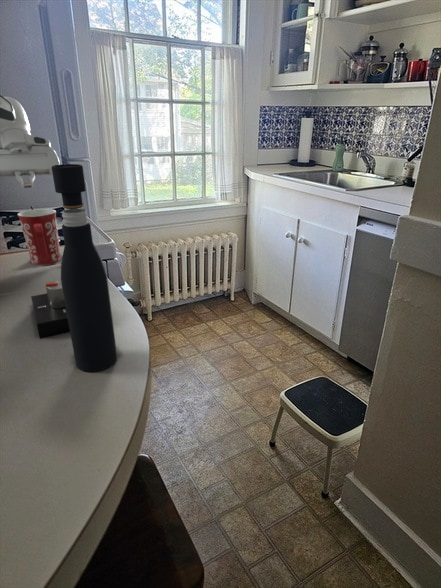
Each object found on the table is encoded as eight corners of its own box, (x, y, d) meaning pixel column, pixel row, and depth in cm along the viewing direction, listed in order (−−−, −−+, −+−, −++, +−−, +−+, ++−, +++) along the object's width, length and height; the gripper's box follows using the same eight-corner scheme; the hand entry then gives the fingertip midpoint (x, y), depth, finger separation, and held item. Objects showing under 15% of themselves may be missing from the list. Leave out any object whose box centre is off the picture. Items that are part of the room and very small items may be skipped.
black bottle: (101, 376, 59) (70, 169, 47) (66, 367, 61) (28, 167, 49) (125, 354, 65) (103, 164, 52) (92, 347, 67) (64, 162, 54)
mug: (29, 258, 108) (19, 209, 102) (64, 255, 110) (56, 207, 105) (25, 274, 97) (13, 221, 91) (64, 270, 100) (55, 218, 94)
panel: (97, 326, 73) (95, 311, 72) (39, 339, 69) (36, 323, 68) (84, 299, 84) (82, 286, 82) (33, 309, 79) (30, 295, 78)
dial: (74, 297, 77) (71, 277, 76) (72, 307, 74) (69, 286, 72) (51, 299, 76) (47, 279, 75) (48, 309, 73) (43, 288, 71)
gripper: (-25, 140, 108) (-16, 181, 104) (54, 139, 117) (64, 177, 113) (-20, 156, 113) (-12, 196, 110) (55, 153, 122) (64, 190, 118)
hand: (27, 186), depth 111 cm, fingers closed
